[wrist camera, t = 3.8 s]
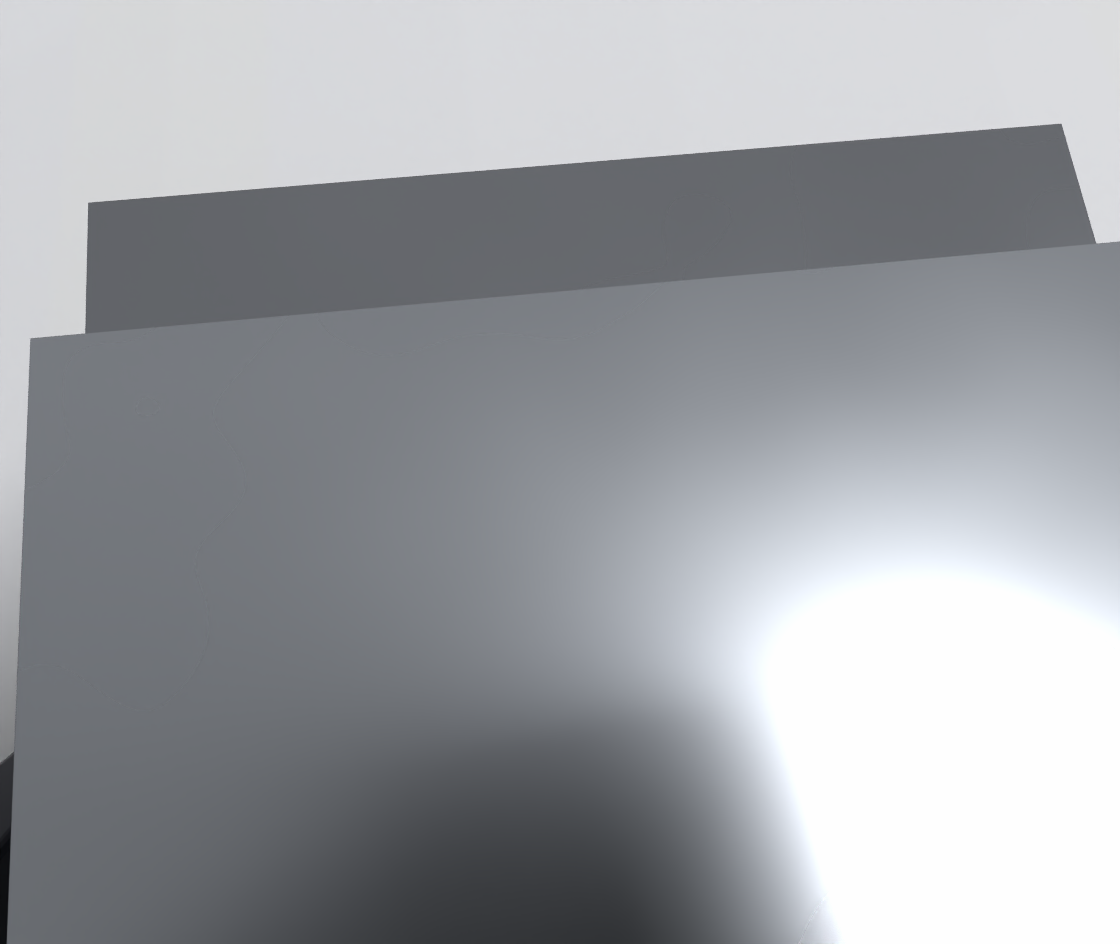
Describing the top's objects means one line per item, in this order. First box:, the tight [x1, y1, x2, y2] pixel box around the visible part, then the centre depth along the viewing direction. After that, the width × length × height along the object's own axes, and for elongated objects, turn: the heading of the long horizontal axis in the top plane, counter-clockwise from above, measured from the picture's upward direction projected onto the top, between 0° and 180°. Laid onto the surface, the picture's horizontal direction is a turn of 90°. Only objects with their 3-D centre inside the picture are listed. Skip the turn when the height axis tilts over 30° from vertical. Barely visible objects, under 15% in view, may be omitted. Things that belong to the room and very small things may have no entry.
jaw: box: [7, 124, 1120, 944], centre depth 10 cm, size 5×6×12 cm
